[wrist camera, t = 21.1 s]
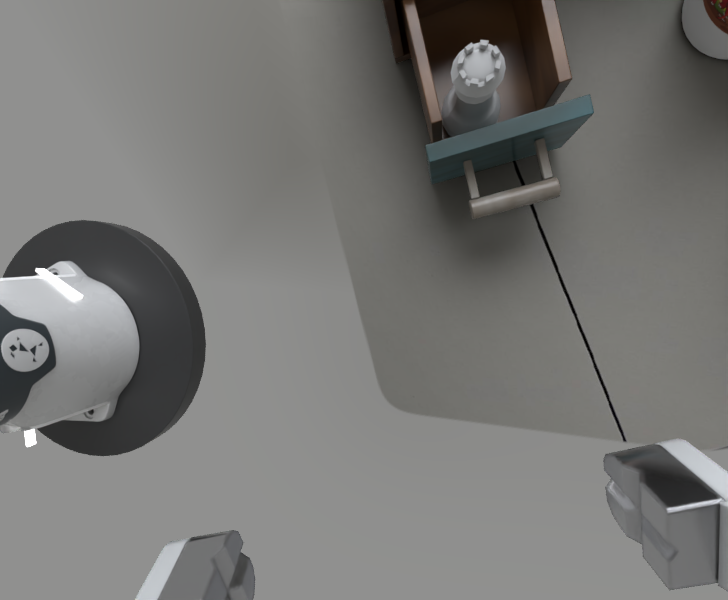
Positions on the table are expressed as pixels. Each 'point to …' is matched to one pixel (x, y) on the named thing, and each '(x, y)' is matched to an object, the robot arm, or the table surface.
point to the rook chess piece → (474, 89)
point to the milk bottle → (707, 26)
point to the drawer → (516, 91)
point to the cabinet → (396, 30)
